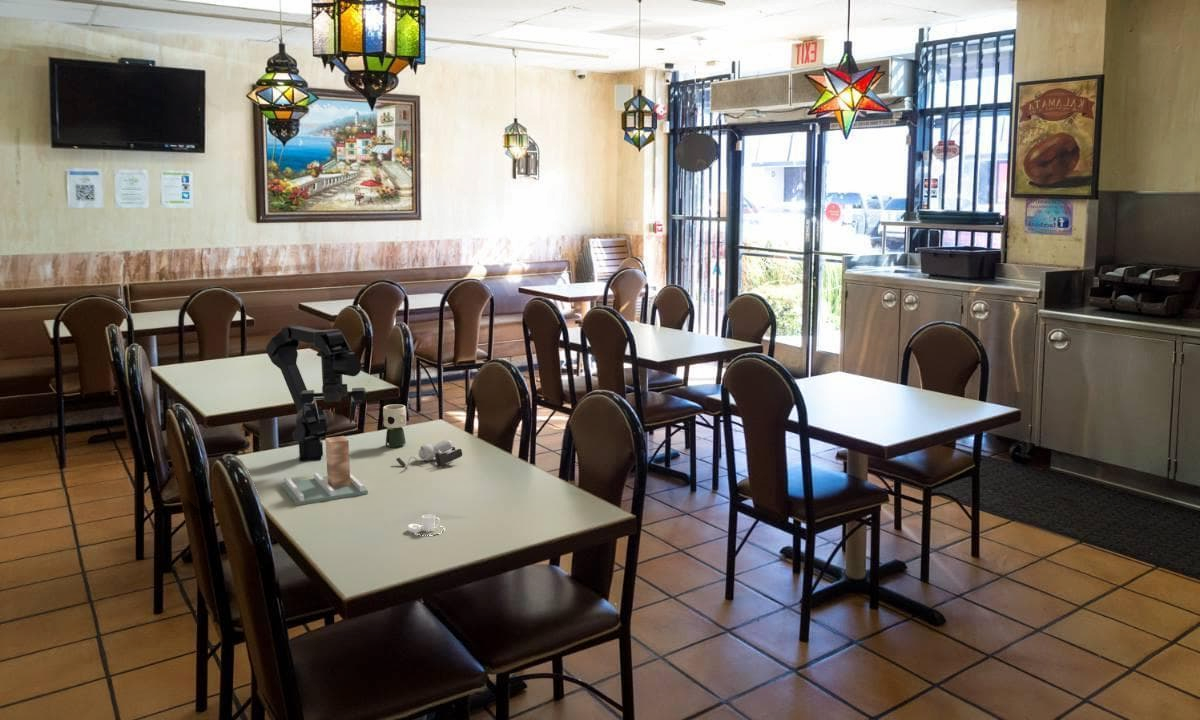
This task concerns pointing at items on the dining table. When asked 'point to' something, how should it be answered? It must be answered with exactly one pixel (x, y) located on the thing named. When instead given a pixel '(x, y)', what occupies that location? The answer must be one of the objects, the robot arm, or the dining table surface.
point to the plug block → (338, 461)
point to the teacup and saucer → (424, 525)
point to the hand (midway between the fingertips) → (334, 423)
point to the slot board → (320, 489)
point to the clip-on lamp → (436, 453)
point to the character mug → (394, 424)
